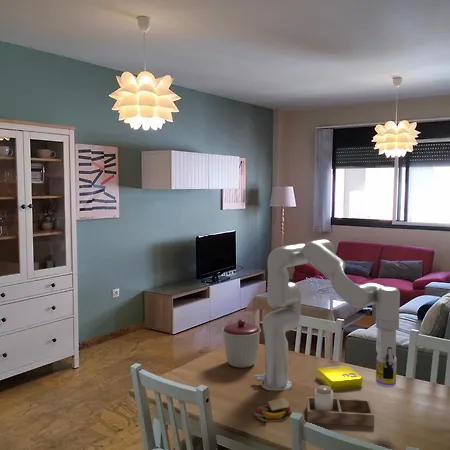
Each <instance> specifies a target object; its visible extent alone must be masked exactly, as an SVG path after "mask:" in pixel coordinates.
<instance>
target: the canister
mask: <svg viewBox="0 0 450 450" xmlns="http://www.w3.org/2000/svg"><path fill="white" fill-rule="evenodd" d="M221 332H222V333H223V339H224V340H223V341H224V350H225V356H226V361H227V363H228V364H229V365H230V366H231V367H234V368H241V369H242V368H249V367H252V366H254V365H255V363H256V361H257V357H258V349H259V342H260V341H259V339H260V333H261V332H262V329H261V327H260V326H257V325H256V324H253V323H250V322H246V321H245V320H244V319H238V320H237V322H234V323H233V322H232V323H228V324H226V325H224V326H223V327H222V329H221Z"/></svg>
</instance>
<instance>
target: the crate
mask: <svg viewBox="0 0 450 450" xmlns="http://www.w3.org/2000/svg"><path fill="white" fill-rule="evenodd" d="M306 416H307V418H306V419H307V423H309V422H310V424H312V423H313V424H329V425H345V426H347V425H348V426H358V427H359V426H364V427H375V413H374V410H373V408H372V404H371V402H370V399H359V398H358V399H356V398H339V397H338V398H337V397H333V412H332V411H315V396H306Z"/></svg>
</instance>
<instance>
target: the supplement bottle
mask: <svg viewBox="0 0 450 450" xmlns="http://www.w3.org/2000/svg"><path fill="white" fill-rule="evenodd" d="M386 358H388V356H386ZM375 359H376V361H375V363H376V364H375V383H376V385H378V386H380V387H382V388H393V387H396V384H397V364H398V363H397V362H398V361H397V359H398V358H397V357H396V356H395V359H393V367H394V368H393V379H384V378H383V366H384V358H383V359H381V358H380V357H379V355H378V354H377V355H376V358H375ZM387 361H388V360H386V363H387Z"/></svg>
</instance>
